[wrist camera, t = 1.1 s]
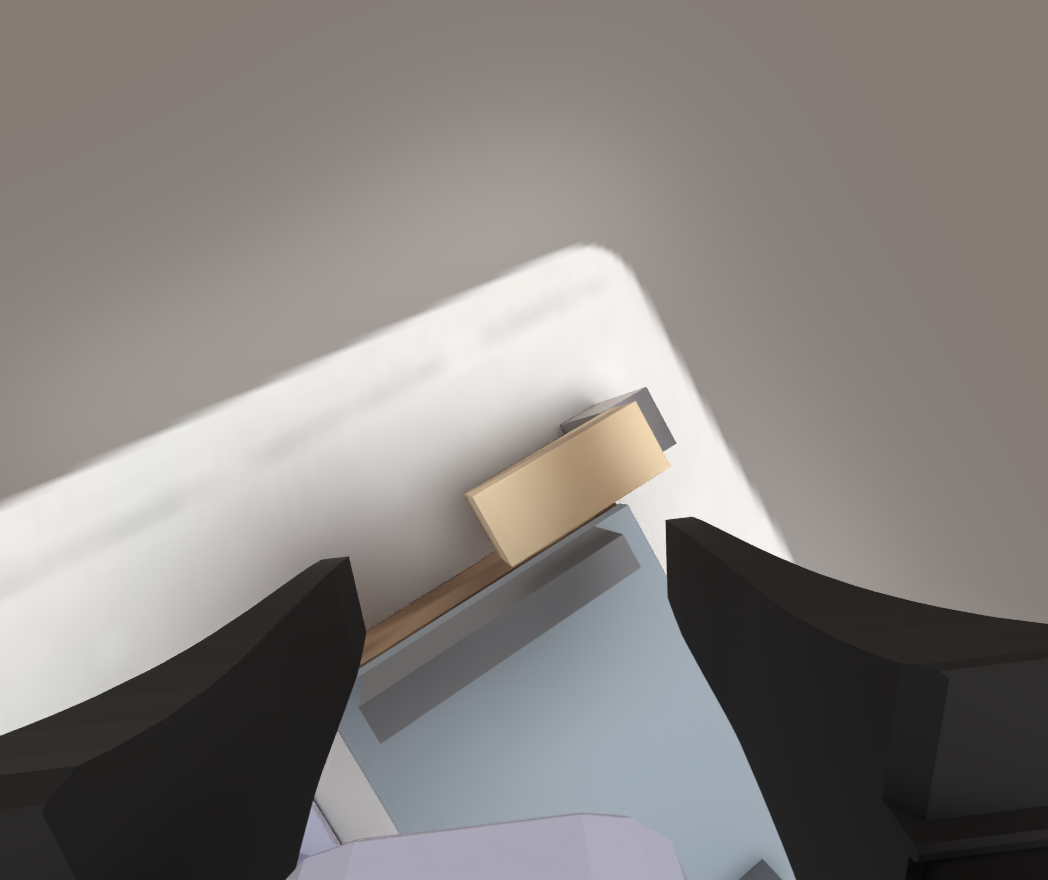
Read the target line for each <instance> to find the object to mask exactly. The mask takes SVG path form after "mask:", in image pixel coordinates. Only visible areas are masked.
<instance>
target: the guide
mask: <svg viewBox="0 0 1048 880" xmlns="http://www.w3.org/2000/svg"><path fill="white" fill-rule="evenodd" d="M634 401H636V403H637V404H638V406H639V408H640V410H641V412H642V414H643V416H644V418H645V419H646V421H647V423H648V425H649V427H650V429H651V431H652V432H653V434H654V436H655V438H656V440H657V442H658V444H659V446H660V447H661V449H662V451H665V450H667V449H668V448H670V447H671V446H673V445H675V444H676V442H675V440H674V438H673V436H672V434H671V432H670V431H669V429H668V427H667V425H666V423H665V421H664V419H663V417H662V416H661V414H660V412H659V410H658V408H657V406H656V404H655V402H654V401H653V399H652V397H651V395H650V393H649V391H648V389H647V387H645V388H642V389H639V390H636V391H633V392H630V393H627V394H624V395H621V396H619V397H616V398H613V399H610V400H607V401H604V402H601V403H598V404H595V405H594V406H592V407H590V408H589V409H587V410H585V411H583V412H582V413H580V414H578V415H576V416H575V417H573V418H571V419H569V420H568V421H566V422H564V423H562V424H561V425H560V426H561V428H562V429H563V431H564V433H565V434H567V433H569V432H571V431H572V430H574V429H576V428H577V427H579V426H581V425H583V424H584V423H586V422H588V421H589V420H591V419H593V418H595V417H596V416H598V415H600V414H602V413H603V412H605V411H607V410H608V409H611V408H614V407H618V406H621V405H624V404H628V403H631V402H634Z"/></svg>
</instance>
